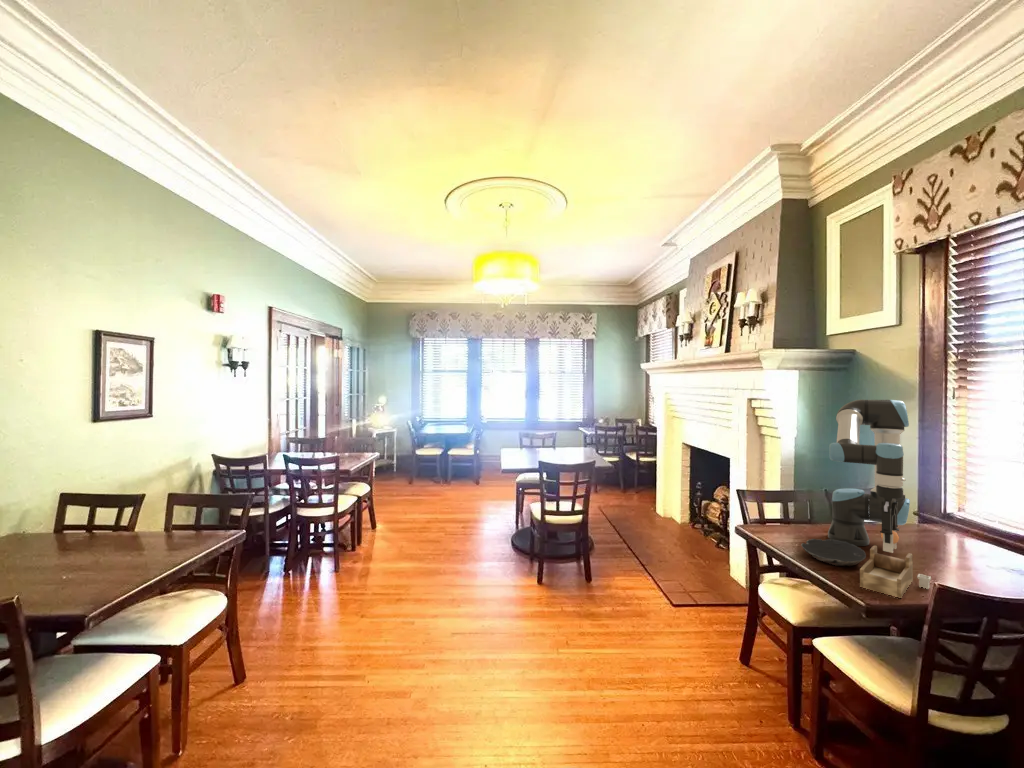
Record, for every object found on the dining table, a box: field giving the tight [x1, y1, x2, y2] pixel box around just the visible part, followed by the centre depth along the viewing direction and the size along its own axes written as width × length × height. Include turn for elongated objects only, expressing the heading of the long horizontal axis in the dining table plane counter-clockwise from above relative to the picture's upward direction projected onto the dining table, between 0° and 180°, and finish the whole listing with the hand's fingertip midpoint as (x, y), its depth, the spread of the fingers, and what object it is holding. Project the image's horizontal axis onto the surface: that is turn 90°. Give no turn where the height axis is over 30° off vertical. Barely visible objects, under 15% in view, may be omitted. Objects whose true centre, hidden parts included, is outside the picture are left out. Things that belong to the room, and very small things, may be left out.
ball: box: [880, 530, 900, 544], centre depth 160 cm, size 5×5×5 cm
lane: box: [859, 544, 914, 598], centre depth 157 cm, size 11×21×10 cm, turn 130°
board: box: [801, 538, 867, 567], centre depth 179 cm, size 22×22×5 cm
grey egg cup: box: [916, 573, 932, 590], centre depth 155 cm, size 3×3×4 cm
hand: (889, 549), depth 160 cm, fingers closed on ball, 5 cm apart
